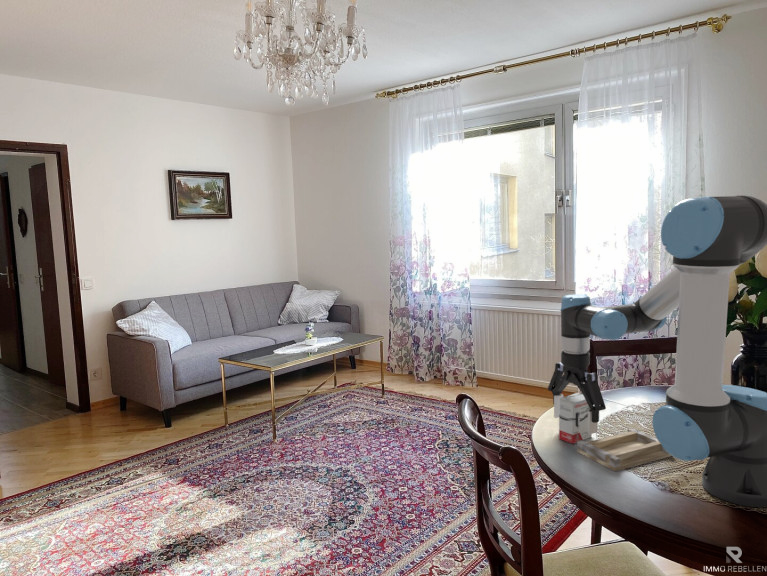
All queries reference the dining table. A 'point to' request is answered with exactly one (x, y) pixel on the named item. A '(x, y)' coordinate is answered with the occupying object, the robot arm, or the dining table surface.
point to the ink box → (573, 418)
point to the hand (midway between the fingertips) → (575, 424)
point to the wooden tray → (623, 450)
